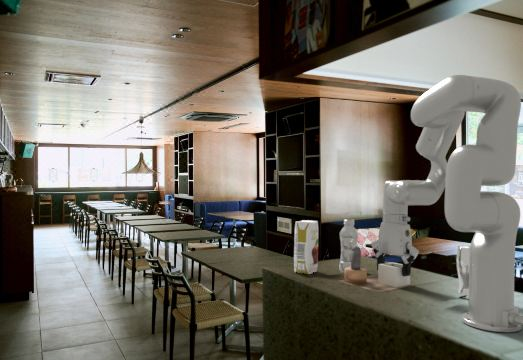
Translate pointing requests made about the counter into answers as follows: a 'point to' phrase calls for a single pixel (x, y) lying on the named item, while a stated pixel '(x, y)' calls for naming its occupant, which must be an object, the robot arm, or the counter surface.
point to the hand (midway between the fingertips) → (393, 272)
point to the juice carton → (306, 246)
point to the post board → (375, 284)
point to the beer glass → (463, 270)
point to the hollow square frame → (392, 275)
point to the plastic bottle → (347, 243)
